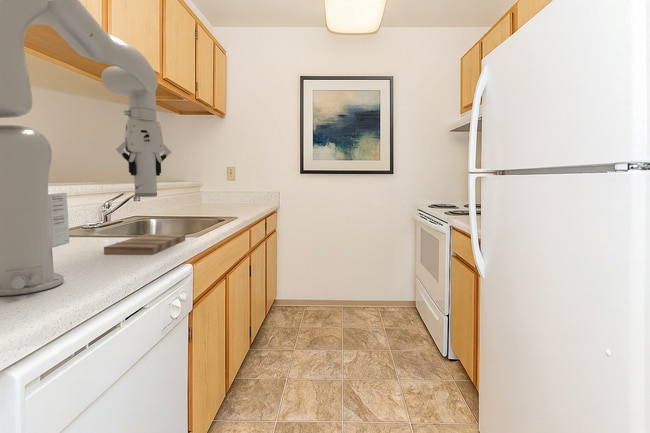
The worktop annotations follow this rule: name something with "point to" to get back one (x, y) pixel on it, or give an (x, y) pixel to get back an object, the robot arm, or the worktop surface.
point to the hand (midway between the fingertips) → (145, 175)
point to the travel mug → (145, 172)
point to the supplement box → (58, 218)
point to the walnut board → (145, 244)
